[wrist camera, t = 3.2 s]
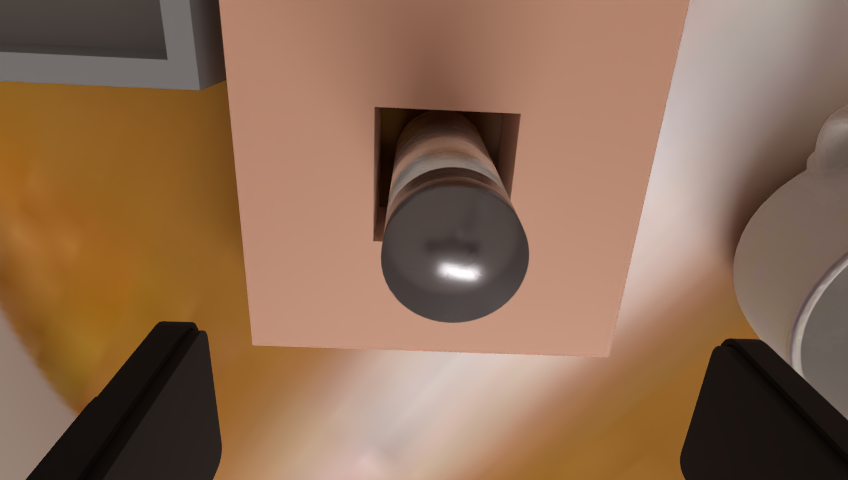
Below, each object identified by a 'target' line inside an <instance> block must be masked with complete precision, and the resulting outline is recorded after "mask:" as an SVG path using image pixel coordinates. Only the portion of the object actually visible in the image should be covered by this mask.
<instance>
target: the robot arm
mask: <svg viewBox="0 0 848 480" xmlns="http://www.w3.org/2000/svg"><path fill="white" fill-rule="evenodd" d="M221 453H222V443H221V436H220V428H219V420H218V412H217V405H216V397H215V389H214V382H213V374H212V366H211V358H210V351H209V343H208V337H207V334H206V332H205V331H198V328H197V326H196V324H195V323H193V322H167V321H162V322H159V323H158V324H157V325H156V326H155V327H154V328H153V329H152V331H151V332H150V333H149V334H148V336H147V337H146V338H145V339H144V340H143V342H142V343H141V344H140V345H139V347H138V348H137V349H136V350H135V351H134V353H133V354H132V355H131V356H130V358H129V359H128V360H127V361H126V362H125V364H124V365H123V366H122V367H121V369H120V370H119V371H118V372H117V373H116V375H115V376H114V377H113V378H112V380H111V381H110V382H109V383H108V384H107V386H106V387H105V388H104V389H103V391H102V392H101V393H100V394H99V395H98V396H97V397H95V398H94V399H93V400H92V401H91V402H90V403H89V404H88V405H87V406H86V407H85V408H84V410H83V411H82V412H81V413H80V415H79V416H78V417H77V418H76V419H75V421H74V422H73V423H72V424H71V425H70V427H69V428H68V429H67V430H66V431H65V433H64V434H63V435H62V436H61V438H60V439H59V440H58V441H57V442H56V444H55V445H54V446H53V447H52V448H51V450H50V451H49V452H48V453H47V455H46V456H45V457H44V458H43V459H42V461H41V462H40V463H39V464H38V465H37V467H36V468H35V469H34V470H33V471H32V473H31V474H30V475H29V476H28V478H27V479H26V480H213V478H214V476H215V473H216V471H217V469H218V466H219V463H220V459H221ZM680 465H681V470H682V473H683V475H684V478H685V479H686V480H848V420H847V419H846V418H845V417H844V416H843V415H842V414H841V413H840V412H839V411H838V410H837V409H836V408H835V407H833V406H832V405H831V404H830V403H829V402H828V401H827V400H826V399H825V398H824V397H823V396H822V395H821V394H820V393H819V392H818V391H816V390H815V389H814V388H813V387H812V386H811V385H810V384H809V383H808V382H807V381H806V380H805V379H804V378H803V377H802V376H801V375H799V374H798V373H797V372H796V371H795V370H794V369H793V368H792V367H791V366H790V365H789V364H788V363H787V362H786V361H785V360H784V359H782V358H781V357H780V356H779V355H778V354H777V353H776V352H775V351H774V350H773V349H772V348H771V347H770V346H769V345H768V344H767V343H765V342H764V341H762V340H758V339H726V340H725V341H724V342H723V343H722V344H721V346H717V347H716V348H715V349H714V350H713V352H712V354H711V358H710V361H709V364H708V367H707V371H706V374H705V377H704V380H703V384H702V387H701V390H700V393H699V397H698V400H697V403H696V406H695V410H694V413H693V416H692V419H691V423H690V426H689V429H688V432H687V436H686V439H685V442H684V445H683V449H682V452H681V456H680Z"/></svg>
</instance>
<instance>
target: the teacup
mask: <svg viewBox="0 0 848 480" xmlns="http://www.w3.org/2000/svg"><path fill="white" fill-rule="evenodd" d="M733 283H734V289H735V293H736V298H737V300H738V303H739V305H740V308H741V310H742V312H743V314H744V316H745V318H746V319H747V321H748V322H749V324H750V325H751V327H752V328H753V330H754V331H755V332H756V334H757V335H758V336H759V338H760V339H761V340H762V341H764V342H765V343H767V344H768V345H769V346H770V347H771V348H772V349H773V350H774V351H775V352H776V353H777V354H778V355H779V356H780V357H781V358H782V359H784V360H785V361H786V362H787V363H788V364H789V365H790V366H791V367H792V368H793V369H794V370H795V371H796V372H797V373H798V374H799V375H801V376H802V377H803V378H804V379H805V380H806V381H807V382H808V383H809V384H810V385H811V386H812V387H813V388H814V389H815V390H816V391H818V392H819V393H820V394H821V395H822V396H823V397H824V398H825V399H826V400H827V401H828V402H829V403H830V404H831V405H832V406H833V407H835V408H836V409H837V410H838V411H839V412H840V413H841V414H842V415H843V416H844V417H845V418H846V419H847V420H848V104H846V105H845V106H843V107H841V108H839V109H838V110H836V111H835V112H834V113H832V114H831V115H830V116H829V117H828V118H827V119H826V121H825V122H824V124H823V126H822V127H821V129H820V132H819V135H818V138H817V142H816V147H815V151H814V152H812V153H811V155H810V156H809V157H808V160H807V169H806V171H804V172H802V173H800V174H798V175H797V176H795V177H794V178H792V179H791V180H790V181H788V182H787V183H785V184H784V185H783V186H781V187H780V188H779V189H778V190H776V191H775V192H774V193H773V194H772V195H771V196H770V197H769V198H768V199H767V200H766V201H765V202H764V203H763V204H762V205H761V206H760V207H759V208H758V210H757V211H756V212H755V214H754V215H753V216H752V218H751V219H750V221H749V222H748V224H747V226H746V227H745V229H744V231H743V233H742V235H741V238H740V241H739V243H738V246H737V249H736V253H735V257H734V265H733Z"/></svg>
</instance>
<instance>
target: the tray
mask: <svg viewBox="0 0 848 480" xmlns="http://www.w3.org/2000/svg"><path fill="white" fill-rule="evenodd" d="M224 80H227V78H226V68H225V57H224V47H223V37H222V27H221V17H220V6H219V0H0V81H11V82H32V83H54V84H75V85H96V86H118V87H139V88H160V89H181V90H202V89H205V88H207V87H209V86H212V85H214V84H217V83H219V82H222V81H224Z"/></svg>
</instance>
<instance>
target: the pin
mask: <svg viewBox="0 0 848 480" xmlns="http://www.w3.org/2000/svg"><path fill="white" fill-rule="evenodd" d="M528 263H529V245H528V240H527V236H526V234H525V231H524V228H523V226H522V224H521V222H520V220H519V218H518V216H517V213H516V211H515V209H514V207H513V205H512V203H511V200H510V198H509V196H508V194H507V192H506V190H505V188H504V185H503V183H502V181H501V179H500V177H499V175H498V173H497V170H496V168H495V166H494V164H493V162H492V160H491V158H490V155H489V153H488V151H487V149H486V147H485V145H484V143H483V140H482V138H481V136H480V134H479V132H478V130H477V129H476V127H475V126H474V125H473V124H472V123H471V122H470V121H469V120H468V119H467V118H466V117H464V116H462V115H461V114H459V113H456V112H454V111H450V110H431V111H427V112H424V113H422V114H420V115H418V116H416V117H415V118H413V119H412V120H411V121H410V122H409V123H408V124H407V125H406V126H405V127H404V129H403V130H402V132H401V134H400V136H399V139H398V142H397V146H396V153H395V159H394V166H393V173H392V180H391V187H390V194H389V201H388V207H387V214H386V221H385V228H384V235H383V242H382V249H381V267H382V272H383V276H384V278H385V281H386V283H387V285H388V287H389V289H390V291H391V292H392V293H393V295H394V296H395V297H396V299H397V300H398V301H399V302H400V303H401V304H402V305H404V306H405V307H406V308H407V309H409V310H410V311H412V312H414V313H415V314H417V315H419V316H422V317H424V318H427V319H430V320H434V321H438V322H446V323H460V322H468V321H472V320H476V319H479V318H482V317H485V316H487V315H489V314H491V313H493V312H495V311H496V310H498V309H499V308H501V307H502V306H503V305H504V304H506V303H507V302H508V301H509V300H510V299H511V298H512V297H513V296H514V295H515V293H516V292H517V290H518V289H519V287H520V286H521V284H522V282H523V280H524V278H525V275H526V272H527V268H528Z"/></svg>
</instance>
